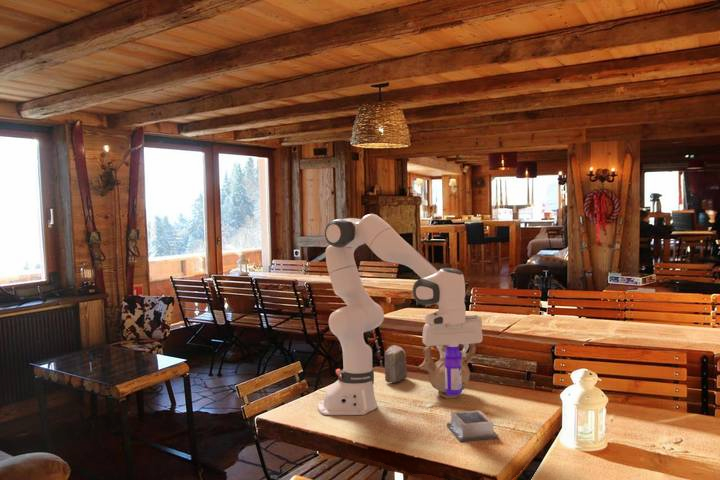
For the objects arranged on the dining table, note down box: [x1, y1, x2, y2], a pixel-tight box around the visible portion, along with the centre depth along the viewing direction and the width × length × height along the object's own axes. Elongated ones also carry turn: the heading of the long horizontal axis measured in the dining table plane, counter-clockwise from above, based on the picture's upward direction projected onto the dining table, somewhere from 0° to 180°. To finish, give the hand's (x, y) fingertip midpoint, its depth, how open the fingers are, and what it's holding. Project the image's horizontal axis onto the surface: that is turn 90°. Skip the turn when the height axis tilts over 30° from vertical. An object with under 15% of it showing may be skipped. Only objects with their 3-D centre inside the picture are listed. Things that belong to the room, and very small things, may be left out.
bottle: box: [445, 343, 463, 395], centre depth 186 cm, size 7×6×17 cm
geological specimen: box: [383, 344, 408, 384], centre depth 241 cm, size 11×6×15 cm, turn 147°
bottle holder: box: [446, 409, 499, 443], centre depth 184 cm, size 13×13×5 cm
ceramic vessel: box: [417, 343, 477, 399], centre depth 221 cm, size 18×19×25 cm
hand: (452, 357), depth 186 cm, fingers closed on bottle, 6 cm apart
